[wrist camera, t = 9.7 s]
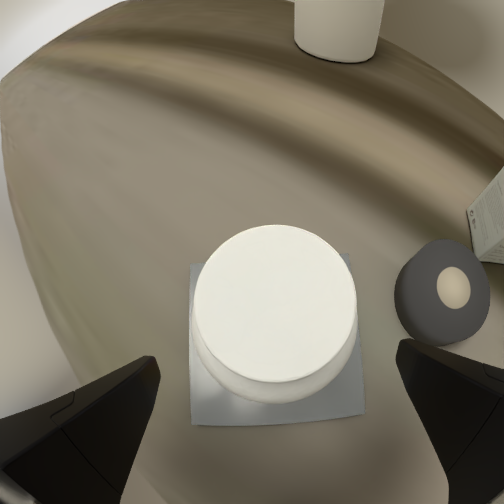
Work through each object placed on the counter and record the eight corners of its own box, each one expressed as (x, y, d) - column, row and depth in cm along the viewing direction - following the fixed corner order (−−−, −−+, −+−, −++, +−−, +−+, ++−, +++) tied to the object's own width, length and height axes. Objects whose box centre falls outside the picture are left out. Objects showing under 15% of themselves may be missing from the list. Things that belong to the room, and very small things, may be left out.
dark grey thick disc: (481, 288, 21) (501, 276, 18) (446, 364, 19) (468, 361, 16) (420, 236, 24) (435, 219, 21) (376, 309, 22) (391, 298, 19)
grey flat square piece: (360, 412, 19) (365, 413, 18) (195, 422, 19) (191, 424, 18) (344, 259, 23) (348, 253, 22) (194, 269, 24) (190, 263, 23)
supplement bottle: (209, 322, 21) (130, 252, 9) (292, 279, 22) (311, 164, 10) (253, 406, 18) (222, 456, 7) (338, 359, 19) (427, 335, 7)
